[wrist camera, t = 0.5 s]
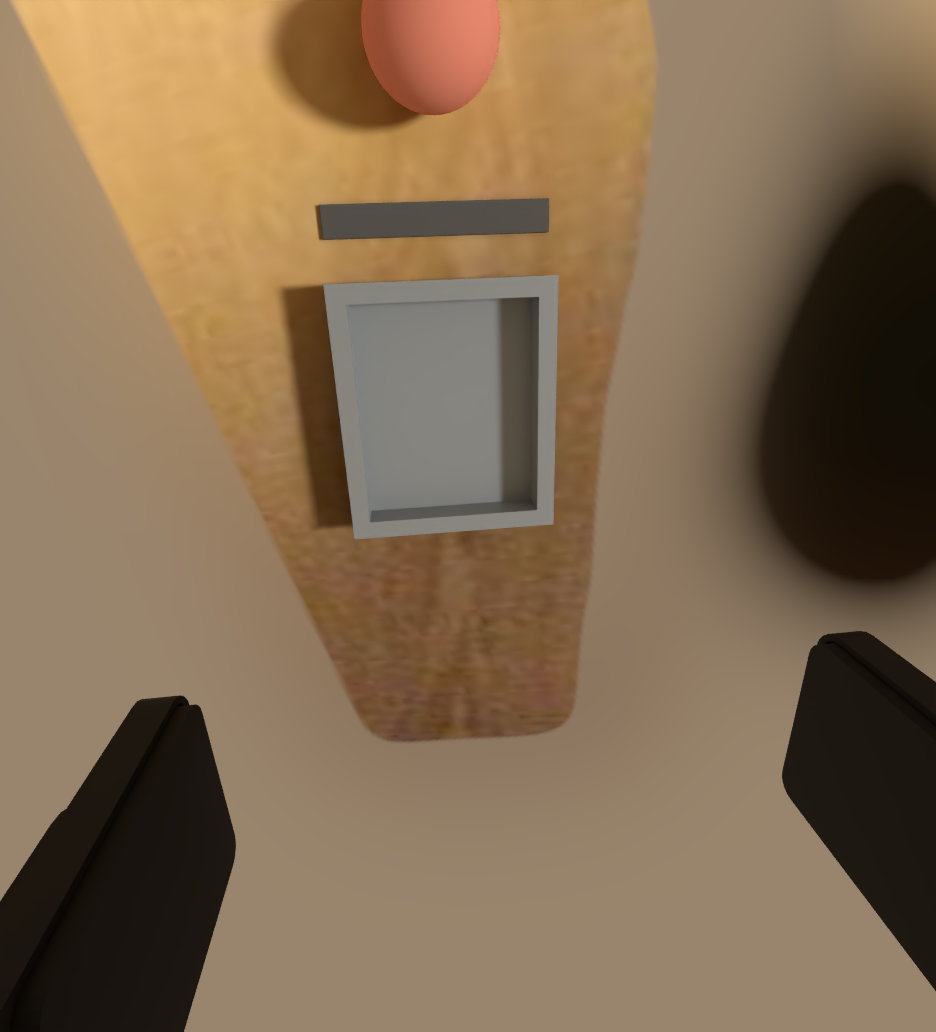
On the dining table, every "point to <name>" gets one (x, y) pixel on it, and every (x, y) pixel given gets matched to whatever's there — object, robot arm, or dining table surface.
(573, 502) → the dining table surface
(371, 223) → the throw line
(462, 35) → the ball
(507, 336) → the tray
